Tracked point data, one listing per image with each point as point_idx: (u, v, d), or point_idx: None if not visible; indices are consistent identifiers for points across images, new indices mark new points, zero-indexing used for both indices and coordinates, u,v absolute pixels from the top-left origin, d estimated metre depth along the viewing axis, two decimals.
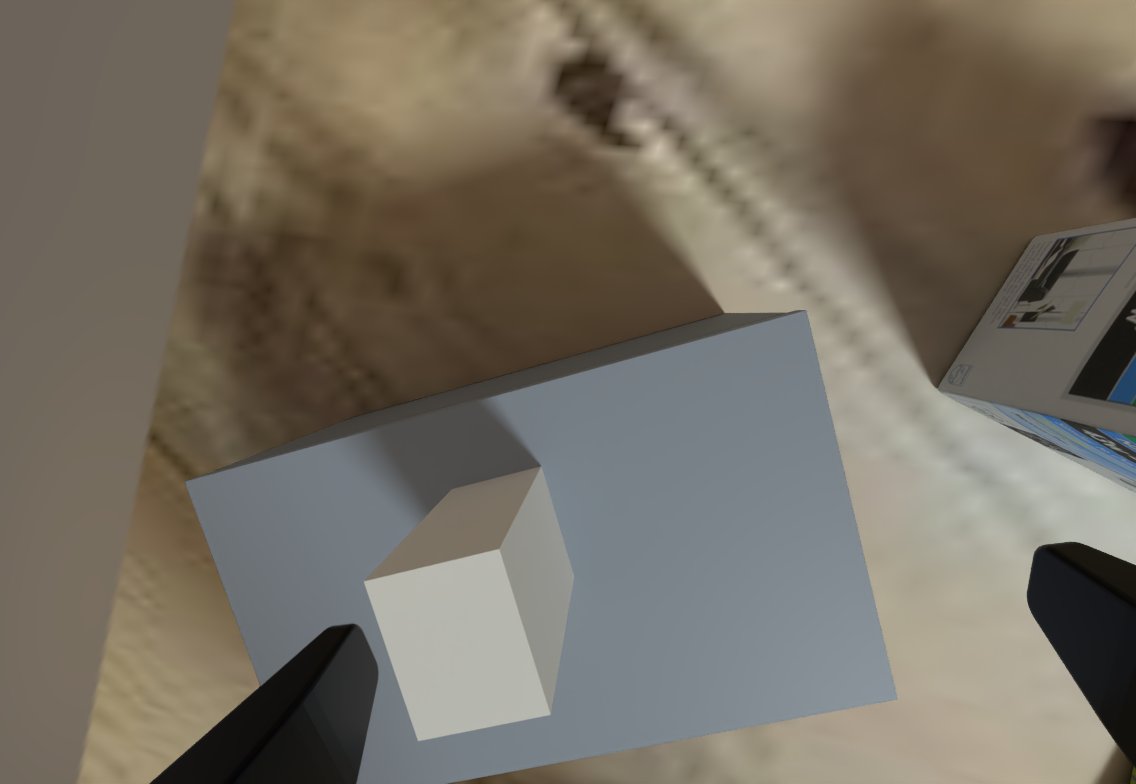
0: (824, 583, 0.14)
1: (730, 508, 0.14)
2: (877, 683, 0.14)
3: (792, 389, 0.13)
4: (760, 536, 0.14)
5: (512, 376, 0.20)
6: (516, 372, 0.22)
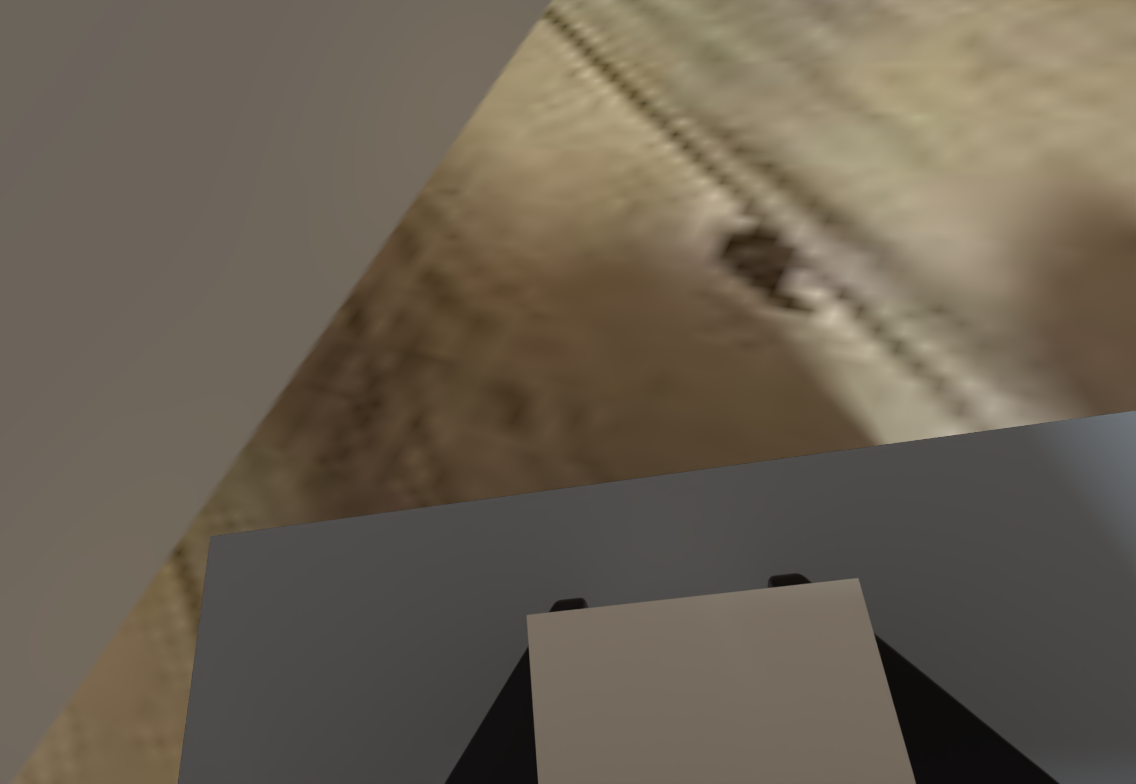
0: None
1: (1122, 736, 0.07)
2: None
3: None
4: None
5: None
6: None
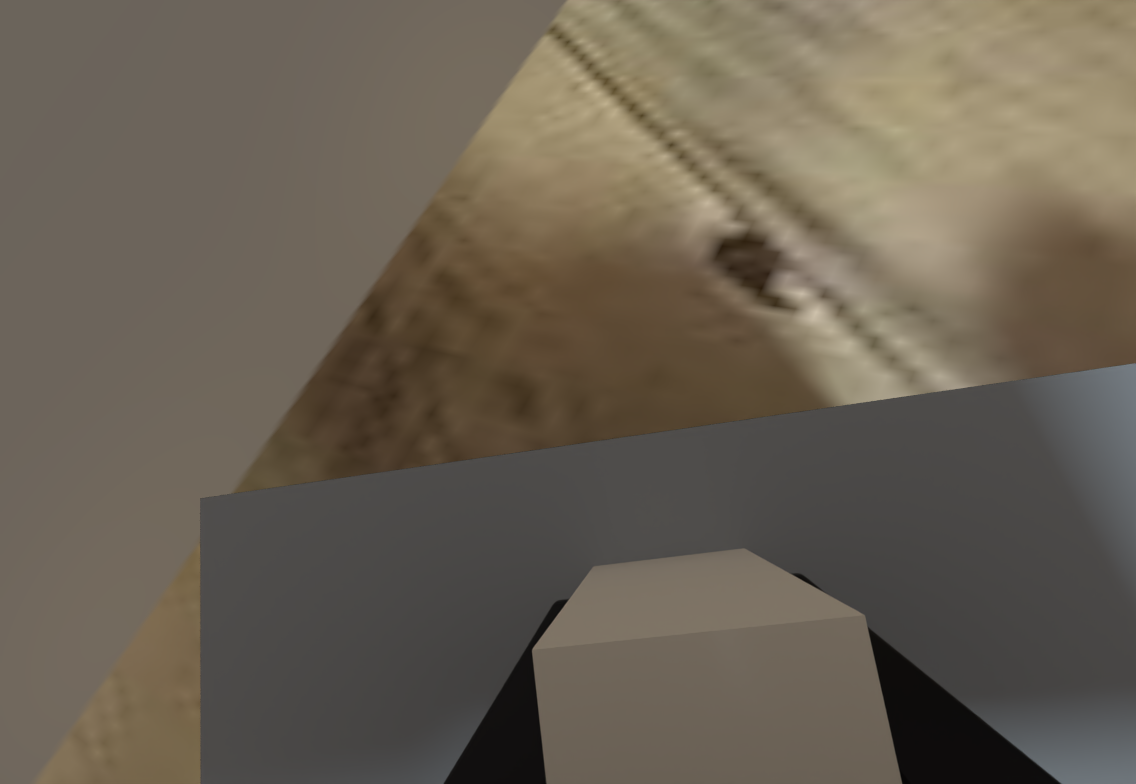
0: None
1: (1077, 671, 0.08)
2: None
3: None
4: None
5: None
6: None
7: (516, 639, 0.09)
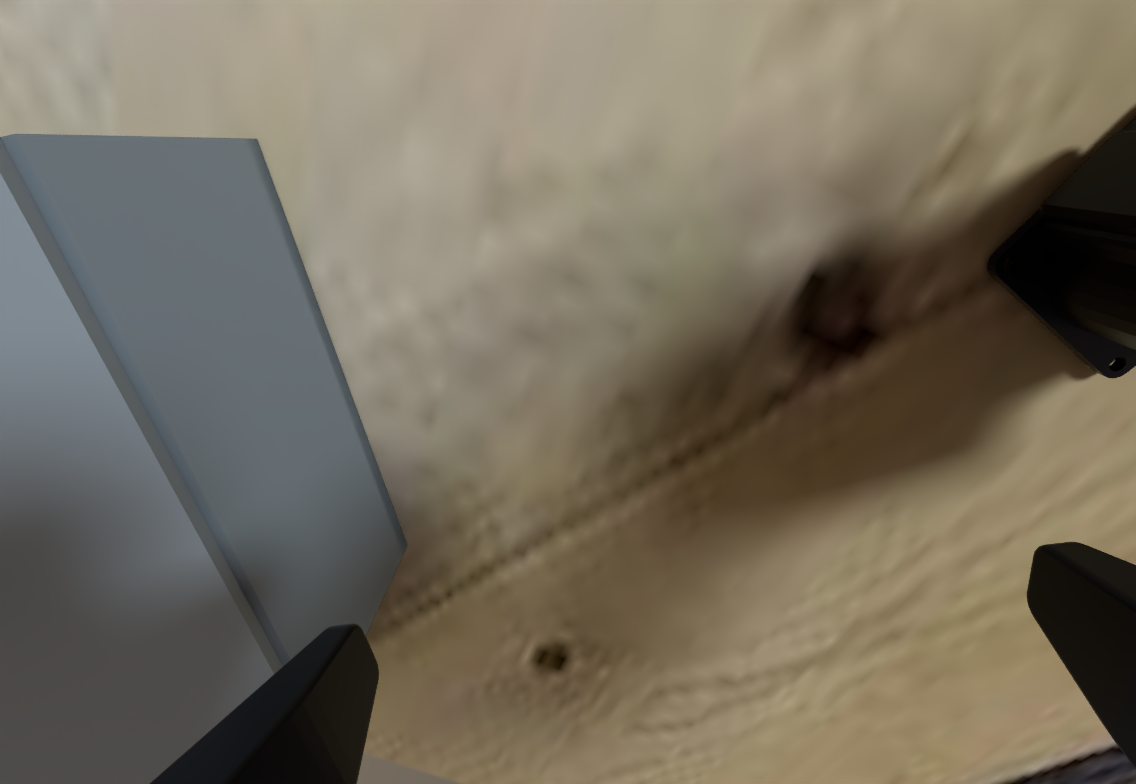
0: None
1: None
2: None
3: None
4: None
5: None
6: None
7: None
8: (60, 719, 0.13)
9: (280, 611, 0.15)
